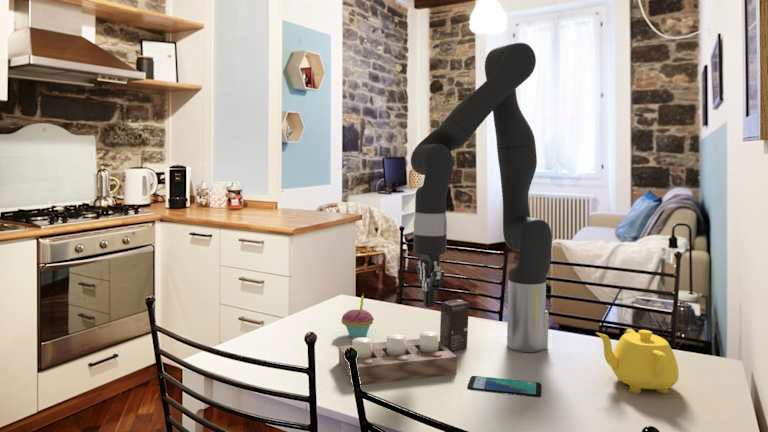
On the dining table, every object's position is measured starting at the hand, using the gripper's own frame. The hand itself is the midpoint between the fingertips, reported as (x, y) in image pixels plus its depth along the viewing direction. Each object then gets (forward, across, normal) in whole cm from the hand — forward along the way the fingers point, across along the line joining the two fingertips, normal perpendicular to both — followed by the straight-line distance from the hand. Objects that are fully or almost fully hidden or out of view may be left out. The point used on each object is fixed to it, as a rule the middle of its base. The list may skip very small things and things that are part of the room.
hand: (428, 306), depth 129 cm
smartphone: (+14, -16, -11) cm, 24 cm away
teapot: (+14, -23, -38) cm, 47 cm away
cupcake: (+14, +26, +11) cm, 31 cm away
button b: (+11, 0, +8) cm, 14 cm away
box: (+14, +9, -10) cm, 20 cm away
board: (+14, 0, +8) cm, 16 cm away
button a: (+11, 0, 0) cm, 11 cm away
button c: (+11, 0, +16) cm, 19 cm away
